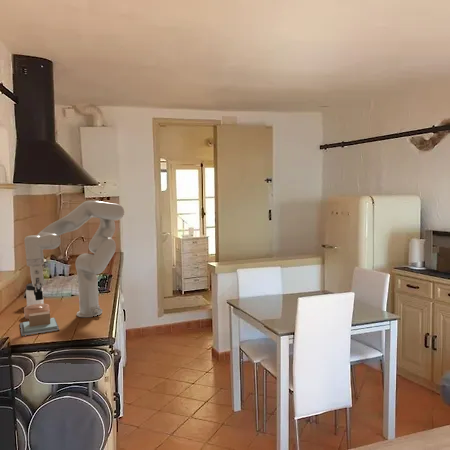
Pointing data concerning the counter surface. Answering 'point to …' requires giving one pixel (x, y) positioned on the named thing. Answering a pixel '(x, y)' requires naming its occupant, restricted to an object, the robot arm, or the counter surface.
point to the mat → (36, 331)
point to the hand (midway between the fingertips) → (38, 297)
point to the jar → (32, 295)
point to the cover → (39, 322)
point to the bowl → (35, 309)
